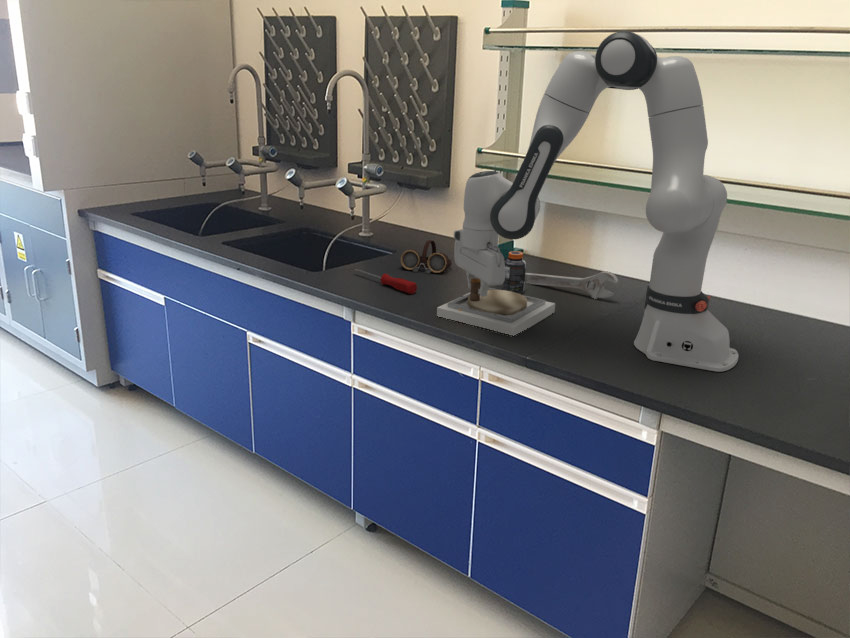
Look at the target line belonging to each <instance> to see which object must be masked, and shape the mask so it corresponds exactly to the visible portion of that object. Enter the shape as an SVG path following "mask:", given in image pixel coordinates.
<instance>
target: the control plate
mask: <svg viewBox="0 0 850 638" xmlns="http://www.w3.org/2000/svg"><path fill="white" fill-rule="evenodd" d="M488 290H500V289H497V288H493V287H490V286H489V288H488ZM469 295H470V292H468V293H466V294H463V295H460V296H459V297H457V298H455V299H453V300H450V301H449V302H447V303H443V304H442V305H439V306H437V308H436V317H437V316H438V317H437V318H439V317H443V318H446V319H445V320H447V319H451V320H455V321H459V322H463V323H466V324H470V325H475V326H479V327H483V328H487V329H490V330H494V331H498V332H501V333H505V334H509V335H513V336H514V335H516V334H518V333H520V332H521V333H523V332H525V331H526V330H528V329H529V328H531V327H532V326H535V325H536V324H538V323H539V322H541V321H543V320H544V319H546V318H548V317H549V316H551V315H552V313H553V314H554V313H555V310H556V302H550V301H546V299H542V298H539V297H534V296H528V295H524V294H522V295H523V296H524V297H526V299H527V307H526V308H524V309H523V310H521V311H519V312H517V313H514V314H496V313H492V312H488V311H484V310H480V309H476V308H472V307H470V306H469V305H468V296H469ZM443 318H442V319H443ZM451 320H450V321H451ZM455 321H454V322H455ZM466 324H465V325H466ZM470 325H469V326H470ZM527 328H528V329H527ZM524 330H525V331H524ZM522 331H523V332H522ZM521 333H520V334H521ZM518 335H519V334H518ZM516 336H517V335H516Z"/></svg>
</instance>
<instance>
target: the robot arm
mask: <svg viewBox="0 0 850 638" xmlns="http://www.w3.org/2000/svg"><path fill="white" fill-rule="evenodd" d="M700 85H701V84H700V82H699V78H698V74H697V72H696V69H695V66H694V64H693V62H692V60H690V59H689V58H687V57H683V56H679V55H678V56H677V55H674V56H672V55H671V56H667V57H661V56H658V54H657V51H656V49H655V48H654V47H653V46H652V44H651V43H650V42H649V41H648V40H647V38H645V37H643V36H642V35H640V34H638V33H635V32H632V31H629V30H619V31H616V32H613V33H611V34H609V35H608V36H607V37H605V38H604V39H603V40H602V41H601V42H600V44H599V46H598V48H597V49H596V52H595V54H593V53H591V52H588V51H584V50H583V51H582V50H578V51H577V50H576V51H572V52H570V53H568V54H567V55H566V56H565V57H564V58H563V60H562V61H561V62H560V64H559V66H558V67H557V69H556V70H555V72H554V73H553V75H552V77H551V79H550V81H549V82H548V85H547V86H546V89H545V90H544V93H543V96H542V98H541V99H540V103H539V106H538V109H537V112H536V115H535V120H534V124H533V128H532V132H531V138H530V141H529V146H528V148H527V151H526V154H525V156H524V159H523V161H522V162H521V164H520V167H519V168H518V171H517V174H516V176H515V178H514V180H513V182H512V181H511V180H509V179H508V178H506V177H504V176H503V175H502V174H500V172H498V171H496V170H485V171H479V172H476V173H474V174H472V175H471V176H469V178H467V180H466V183H465V188H464V195H463V196H464V197H463V212H464V220H463V223H462V229H457V230H453V239H455V241H454V246H453V247H454V249H453V251H454V252H453V253H454V254H453V255H454V263H455V265H456V266H457V267H459V268H461V269H463V270H464V271H465V274H466V275H465V276H466V279H467V283H468V284H467V288H468V289H469V290H471V279H473V278H477V279H480V280H481V282H480V288H479V290H478V291H479V292H478V294H479V295H480V296H482V297H484V296H487V292H488V288H489V287H490V286H502V285H503V282H504V280H505V257H504V255H503V253H502V252H501V250H500V247H499V236H500V237H502V238H504V239H507V240H519V239H523V238H524V237H526V236H527V235H528V234H530V233H531V231H532V230H533V228H534V224H535V223H536V222H535V221H536V219H537V217H538V215H539V213H540V210H541V201H540V199H539V195H540V192H541V191H542V188H543V186H544V184H545V182H546V180H547V177H548V176H549V174H550V171H551V170H552V167H553V166H554V164H555V163H556V161H557V160H558V159H559V157H560V156H561V154H562V153H563V152H564V151H565V150H566V149H567V147H568V146H569V145H570V144H571V143H572V142H573V141H574V140H575V138H576V136H578V134H579V133H580V131H581V129H582V128H583V126H584V125H585V123H586V121H587V119H588V117H589V115H590V113H591V111H592V109H593V106H595V103H596V102H597V101H596V100H597V99H598V97H599V96H600V94H601V93H602V92H603V91H604V90H606V89H612V90H613V89H614V90H615V89H616V90H624V91H634V90H638V89H639V90H640V91H641V93H642V94H643V95H644V100H645V103H646V108H647V109H646V110H647V117H648V124H649V125H648V126H649V131H650V138H651V139H650V140H651V147H652V150H651V151H652V172H651V184H650V192H649V193H650V194H649V195H648V196H649V197H648V199H647V200H646V204H645V215H646V219H647V221H648V223H649V224H650V226H652V228H654V229H656V231H658V232H661V233H662V235H661V238H660V240H659V243H657V247H656V248H655V250H654V253H653V257H652V264H651V271H650V279H649V285H647V287H646V291H645V296H644V304H643V305H644V306H643V307H644V308H643V309H644V313H643V317H642V321H641V323H640V327H639V330H638V333H637V335H636V337H635V339H634V341H633V345H634V347H635V348H636V349H637V350H638V351H640V352H642V353H643V354H645V355H646V357H647V359H649V360H651V361H655V362H662V363H665V364H671V365H672V364H673V365H678V366H682V367H683V366H684V367H689V368H693V369H694V368H695V369H699V370H705V371H706V370H707V371H710V372H711V371H712V372H717V373H718V372H719V373H721V372H725V371H729V370H731V369H732V368H734V367H735V366H736V365H737V364H738V361H739V353H738V351H737V350H736V349H735V348H732V347H731V346H730V333H729V330H728V328H727V326H725V325H724V324H723V323H721V321H720V320H719V319H718V318H716V317H715V315H713V314H712V313H711V312H710V311H709V310H708V309H709V305H710V301H711V294H710V295H708V296H707V295H706V294H705V293H704V292H703V291H702V288H703V283H704V282H703V281H704V276H705V272H706V264H707V259H708V255H709V252H710V249H711V246H712V244H713V240H714V238H715V235H716V232H717V228H718V225H719V221H720V218H721V215H722V213H723V211H724V209H725V207H726V205H727V202H728V192H727V188H726V186H725V185H724V183H723V182H722V181H721V180H719V179H718V178H716V177H713V176H711V175H708V174H704V169H705V168H704V167H705V159H706V152H707V150H708V146H709V143H708V142H709V139H708V133H707V132H708V131H707V125H706V123H707V122H706V116H705V107H704V101H703V95H702V89H701V86H700Z"/></svg>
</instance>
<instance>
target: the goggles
mask: <svg viewBox="0 0 850 638" xmlns="http://www.w3.org/2000/svg"><path fill="white" fill-rule="evenodd" d="M430 244H431V245H430ZM429 246H431V254H430V255H429V256H427V253H428V249H429ZM400 264H401V266H402V267H403V268H404V269H406V270H409V271H413V273H417V272H418V271H419V269H420V268H424V270H425V273H427V275H429V274H431V272H432V273H435V274H442V273H445V272H447V270H448V269H449V268H450V267H451V266H452V260H451V259H449V256H448V255H447V254H445V253H443V252H437V245H436V242H435V241H434V240H432V239H427V240H426V242H425V244H424V246H423V249H422V255H420V253H419V252H418V251H417V250H415V249H413V248H412V249H408V250H405V251H404V252H403V253H402V254H401V257H400Z"/></svg>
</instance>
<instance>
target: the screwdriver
mask: <svg viewBox="0 0 850 638" xmlns="http://www.w3.org/2000/svg"><path fill="white" fill-rule="evenodd" d="M354 270H355V271H356V272H360V273H362V274H365V275H368V276H370V277H374V278H378V279H380V283H381V285H384V286H385V285H388V286H391V287H393V288H394V289H396V290H398V291H401V292H404V293H406V294H409V295H413V294H415V293H416V292H417V290H418V285H417V284H416V282H414V281H410V280H407V279H404V278H401V277H393V276H390V275H389V274H388V273H384V274H382V275H381V276H379V275H376V274H373V273H370V272H366V271H364V270H361V269H357V268H355V269H354Z"/></svg>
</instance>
